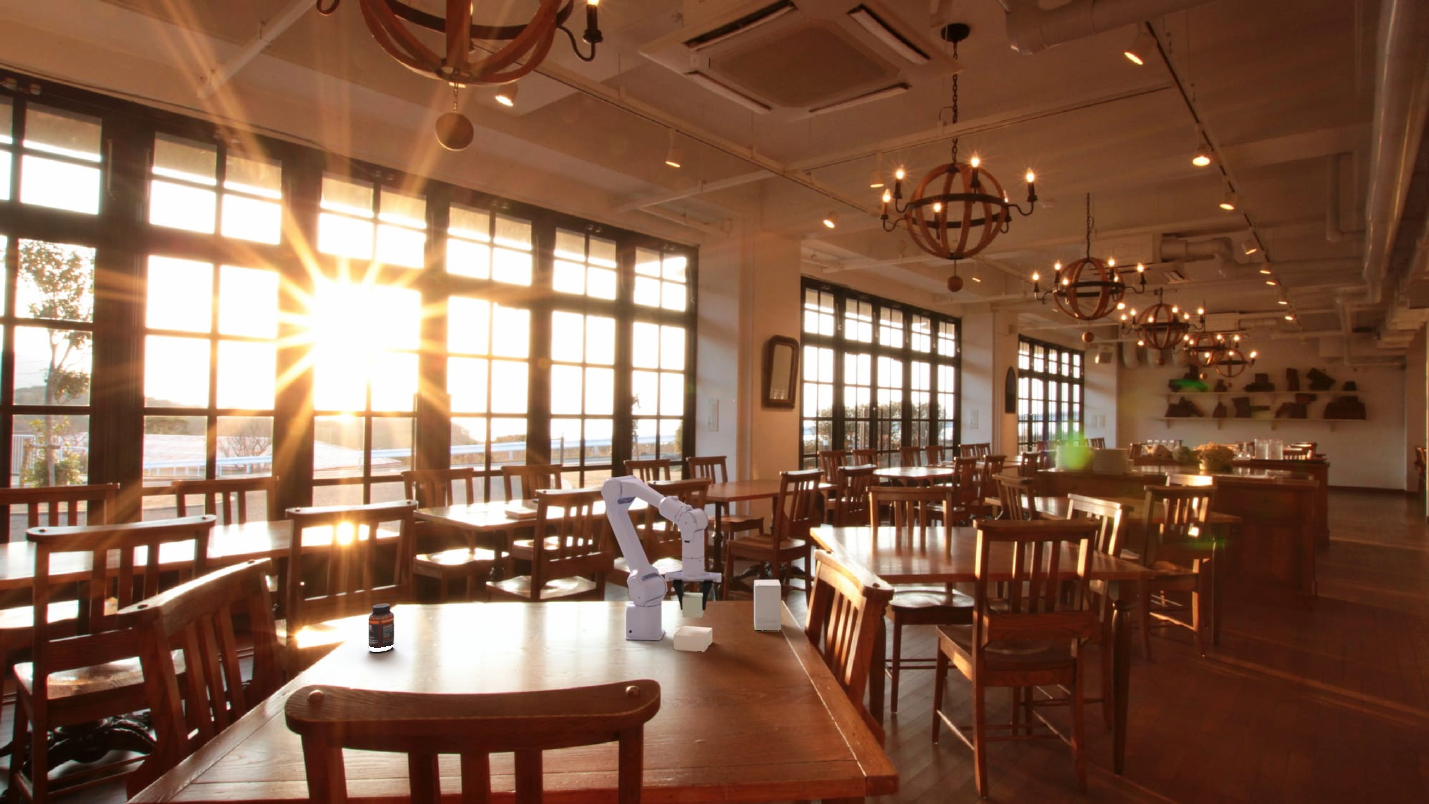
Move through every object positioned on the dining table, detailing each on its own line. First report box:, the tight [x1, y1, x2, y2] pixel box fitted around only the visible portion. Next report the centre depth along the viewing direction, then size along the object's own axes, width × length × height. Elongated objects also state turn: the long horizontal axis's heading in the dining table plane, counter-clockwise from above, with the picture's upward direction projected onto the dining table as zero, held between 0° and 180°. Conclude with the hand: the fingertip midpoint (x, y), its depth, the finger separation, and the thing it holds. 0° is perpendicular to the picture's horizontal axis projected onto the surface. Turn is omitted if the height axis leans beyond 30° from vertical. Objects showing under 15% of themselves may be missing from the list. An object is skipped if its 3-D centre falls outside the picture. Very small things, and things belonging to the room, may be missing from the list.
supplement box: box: [753, 579, 782, 632], centre depth 200 cm, size 7×7×13 cm
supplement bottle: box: [368, 603, 395, 648], centre depth 182 cm, size 6×6×11 cm
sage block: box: [681, 592, 705, 619], centre depth 185 cm, size 5×5×5 cm
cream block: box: [673, 625, 713, 653], centre depth 185 cm, size 8×8×4 cm
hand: (693, 609), depth 185 cm, fingers closed on sage block, 5 cm apart
